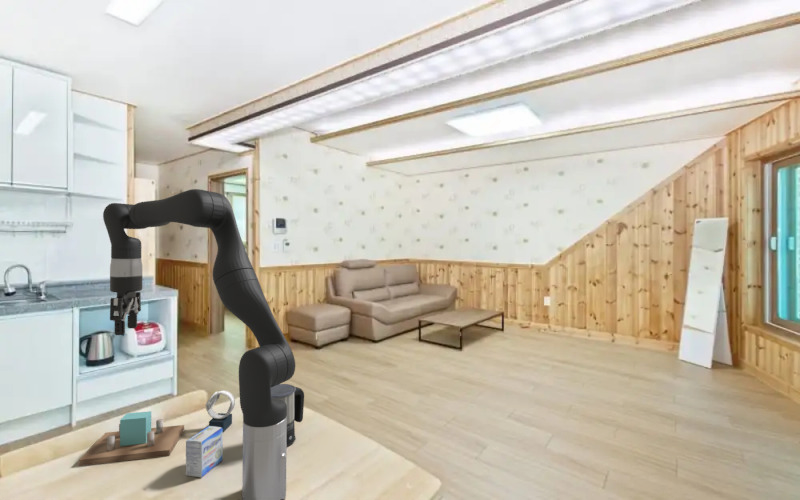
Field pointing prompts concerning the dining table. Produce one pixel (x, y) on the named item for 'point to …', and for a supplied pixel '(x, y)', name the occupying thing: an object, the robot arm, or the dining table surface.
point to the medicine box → (204, 451)
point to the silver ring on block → (221, 418)
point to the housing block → (135, 428)
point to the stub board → (133, 446)
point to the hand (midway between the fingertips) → (126, 331)
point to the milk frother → (290, 406)
